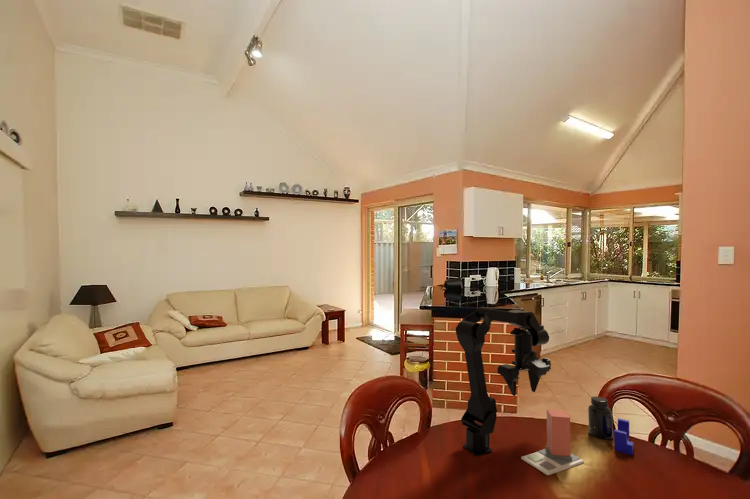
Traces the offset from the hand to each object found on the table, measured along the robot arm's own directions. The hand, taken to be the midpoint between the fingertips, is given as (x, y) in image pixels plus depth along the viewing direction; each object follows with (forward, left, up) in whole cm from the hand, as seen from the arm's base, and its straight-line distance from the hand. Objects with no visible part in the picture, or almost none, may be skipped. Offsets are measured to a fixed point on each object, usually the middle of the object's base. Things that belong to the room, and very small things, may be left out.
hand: (523, 393), depth 122 cm
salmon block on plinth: (-3, -15, -12) cm, 20 cm away
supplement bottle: (+22, -12, -13) cm, 28 cm away
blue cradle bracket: (+23, -19, -13) cm, 33 cm away
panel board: (-6, -16, -13) cm, 22 cm away
